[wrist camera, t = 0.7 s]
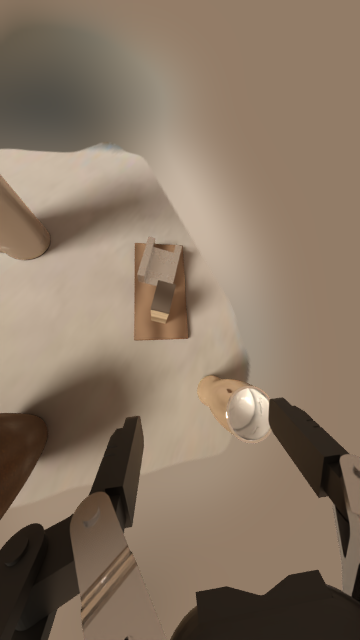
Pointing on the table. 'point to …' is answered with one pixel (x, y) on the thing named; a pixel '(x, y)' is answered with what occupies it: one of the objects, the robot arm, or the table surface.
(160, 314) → the grey-topped wooden block
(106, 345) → the table surface
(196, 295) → the table surface
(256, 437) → the beer glass
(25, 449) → the plant pot
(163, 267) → the clip
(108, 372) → the table surface
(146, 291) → the board
